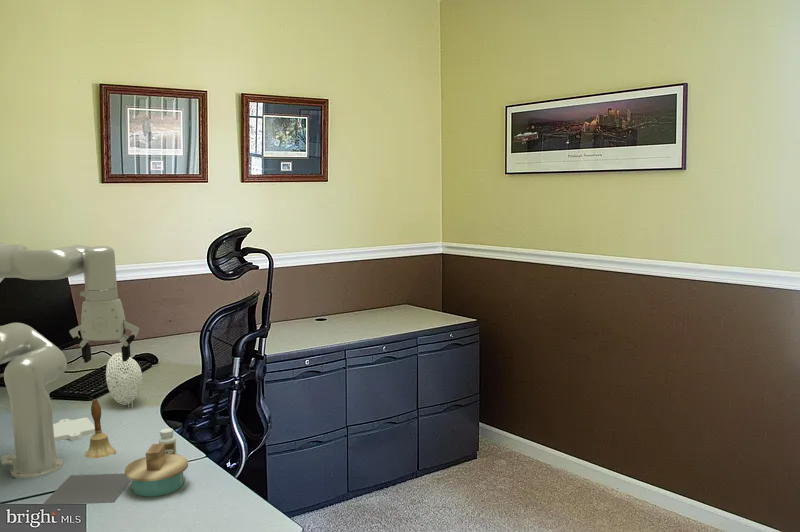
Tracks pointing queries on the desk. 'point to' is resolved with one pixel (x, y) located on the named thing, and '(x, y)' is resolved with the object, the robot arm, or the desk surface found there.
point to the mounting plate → (73, 429)
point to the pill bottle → (168, 440)
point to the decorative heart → (123, 379)
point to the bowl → (158, 486)
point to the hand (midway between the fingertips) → (106, 360)
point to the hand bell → (98, 436)
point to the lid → (156, 465)
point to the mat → (89, 489)
